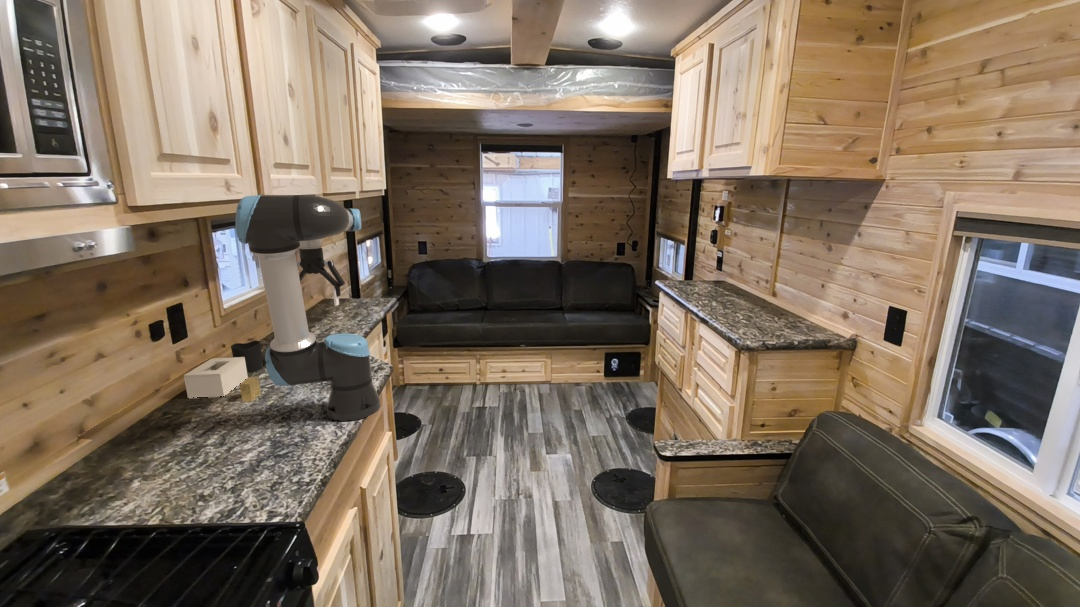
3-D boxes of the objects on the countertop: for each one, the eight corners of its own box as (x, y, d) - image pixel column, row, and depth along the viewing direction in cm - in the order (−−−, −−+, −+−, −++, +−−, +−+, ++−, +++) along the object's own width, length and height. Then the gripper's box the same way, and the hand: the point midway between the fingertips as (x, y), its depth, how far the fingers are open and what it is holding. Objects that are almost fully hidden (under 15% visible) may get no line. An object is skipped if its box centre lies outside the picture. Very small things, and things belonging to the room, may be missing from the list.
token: (252, 401, 151) (249, 383, 149) (242, 401, 151) (239, 384, 149) (261, 393, 157) (258, 376, 155) (251, 394, 156) (248, 377, 155)
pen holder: (251, 374, 173) (247, 348, 171) (229, 373, 175) (224, 347, 172) (269, 365, 182) (266, 340, 180) (248, 364, 184) (244, 340, 181)
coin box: (224, 396, 155) (219, 373, 153) (188, 398, 153) (183, 375, 152) (248, 377, 170) (244, 356, 168) (215, 379, 169) (211, 358, 167)
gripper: (349, 245, 172) (355, 302, 177) (279, 247, 171) (287, 304, 175) (343, 247, 165) (349, 306, 170) (269, 249, 163) (277, 309, 168)
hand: (317, 305), depth 173 cm, fingers open, 13 cm apart
